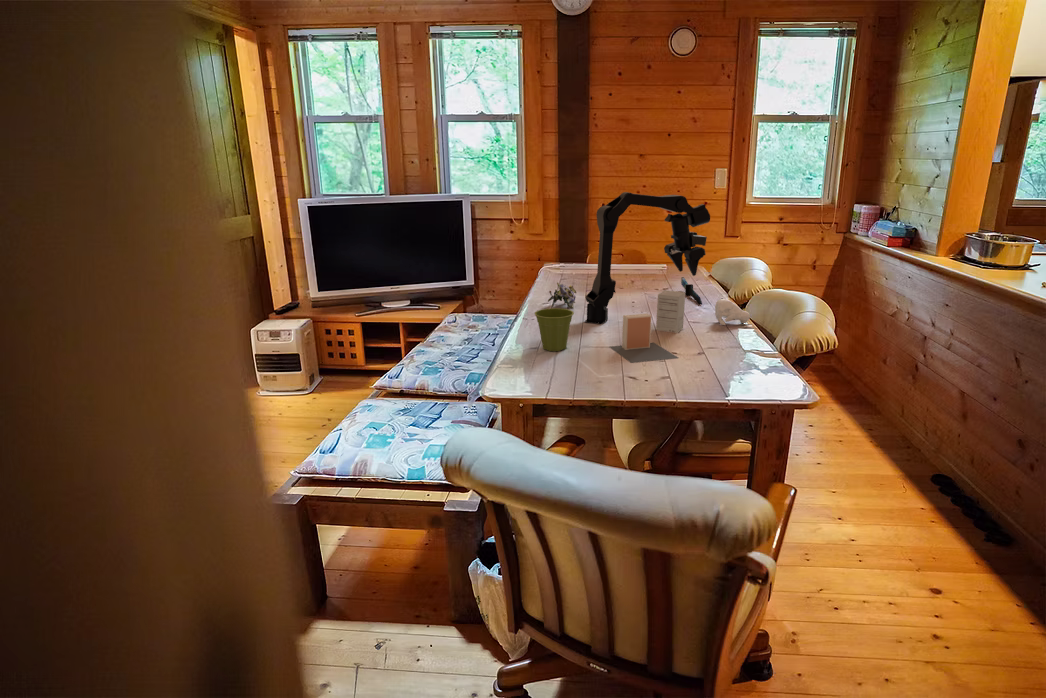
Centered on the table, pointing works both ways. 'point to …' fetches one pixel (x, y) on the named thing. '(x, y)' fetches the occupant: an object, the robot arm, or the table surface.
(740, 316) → the white animal figurine
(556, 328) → the plant pot
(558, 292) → the passion flower
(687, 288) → the knife
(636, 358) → the mat
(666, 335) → the table surface
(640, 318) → the white and orange box
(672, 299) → the supplement box
